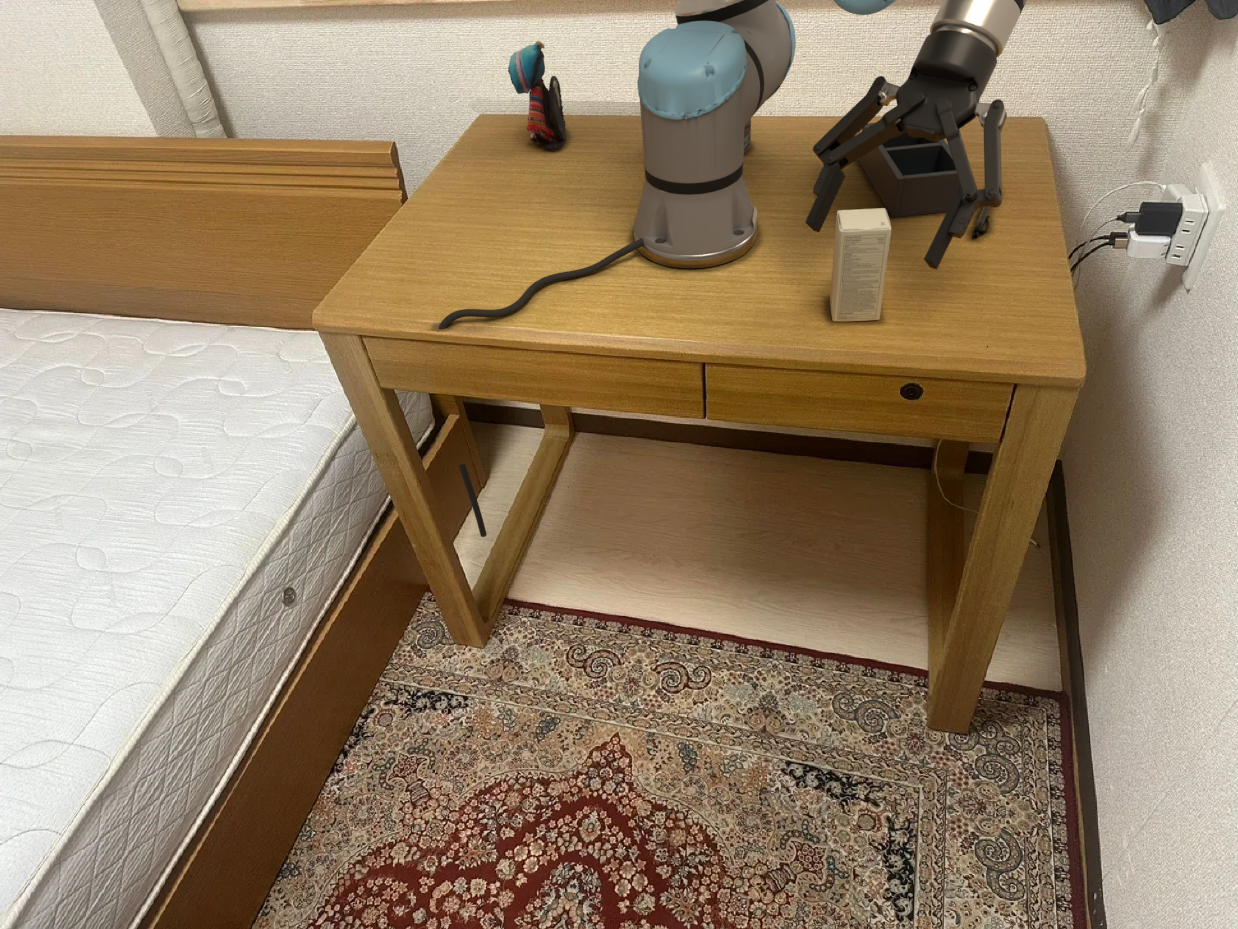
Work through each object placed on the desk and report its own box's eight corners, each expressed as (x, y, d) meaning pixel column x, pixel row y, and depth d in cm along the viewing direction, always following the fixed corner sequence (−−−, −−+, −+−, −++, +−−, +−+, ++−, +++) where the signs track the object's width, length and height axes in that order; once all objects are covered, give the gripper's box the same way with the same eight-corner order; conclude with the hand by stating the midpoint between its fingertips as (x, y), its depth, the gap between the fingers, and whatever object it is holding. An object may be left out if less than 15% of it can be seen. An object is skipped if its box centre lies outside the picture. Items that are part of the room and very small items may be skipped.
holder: (892, 217, 106) (898, 178, 103) (858, 160, 118) (862, 123, 115) (961, 210, 106) (969, 171, 103) (920, 153, 118) (926, 116, 114)
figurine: (529, 128, 135) (513, 27, 124) (573, 127, 134) (561, 24, 123) (517, 156, 128) (498, 51, 117) (563, 155, 127) (549, 49, 116)
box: (875, 299, 94) (889, 206, 87) (880, 321, 91) (894, 228, 84) (826, 299, 95) (836, 208, 87) (829, 322, 92) (839, 229, 84)
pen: (984, 242, 101) (986, 233, 100) (969, 240, 102) (971, 231, 101) (1003, 188, 110) (1005, 180, 109) (990, 187, 110) (992, 178, 109)
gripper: (1093, 87, 82) (991, 292, 85) (862, 46, 95) (780, 225, 98) (1089, 47, 76) (979, 270, 79) (841, 8, 89) (755, 201, 92)
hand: (868, 245), depth 89 cm, fingers open, 13 cm apart
